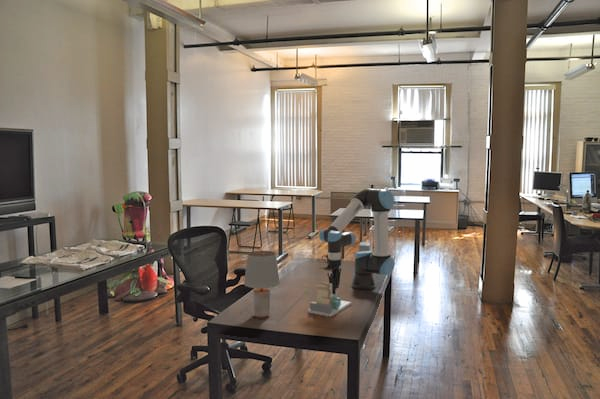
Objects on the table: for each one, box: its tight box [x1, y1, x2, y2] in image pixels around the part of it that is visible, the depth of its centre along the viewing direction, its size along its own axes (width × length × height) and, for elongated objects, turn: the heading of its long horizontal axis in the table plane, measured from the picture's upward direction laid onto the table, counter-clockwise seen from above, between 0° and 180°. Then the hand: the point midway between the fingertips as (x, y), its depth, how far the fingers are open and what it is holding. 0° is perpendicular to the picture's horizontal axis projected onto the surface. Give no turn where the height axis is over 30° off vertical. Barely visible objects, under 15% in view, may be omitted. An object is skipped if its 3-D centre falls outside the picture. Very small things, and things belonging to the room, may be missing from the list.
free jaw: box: [332, 296, 342, 309], centre depth 273 cm, size 8×12×4 cm
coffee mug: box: [321, 252, 330, 268], centre depth 372 cm, size 12×9×10 cm
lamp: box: [243, 250, 281, 319], centre depth 258 cm, size 19×19×34 cm
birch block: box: [316, 281, 332, 305], centre depth 266 cm, size 6×6×14 cm
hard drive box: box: [358, 241, 371, 252], centre depth 361 cm, size 16×8×20 cm, turn 168°
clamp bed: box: [307, 300, 352, 318], centre depth 272 cm, size 25×14×6 cm, turn 148°
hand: (334, 299), depth 277 cm, fingers closed
